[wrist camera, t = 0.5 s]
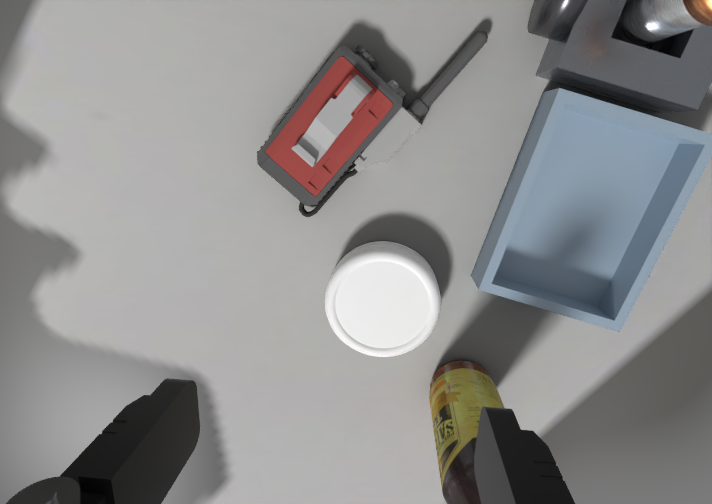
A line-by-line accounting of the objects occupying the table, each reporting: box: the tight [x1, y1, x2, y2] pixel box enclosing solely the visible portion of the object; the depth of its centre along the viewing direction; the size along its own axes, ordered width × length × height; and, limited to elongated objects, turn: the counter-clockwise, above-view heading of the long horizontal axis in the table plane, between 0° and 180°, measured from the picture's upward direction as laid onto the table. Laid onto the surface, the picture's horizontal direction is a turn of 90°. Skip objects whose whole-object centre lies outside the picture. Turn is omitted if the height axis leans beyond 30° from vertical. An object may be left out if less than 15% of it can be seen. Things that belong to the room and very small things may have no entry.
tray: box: [471, 88, 712, 332], centre depth 34 cm, size 16×12×4 cm
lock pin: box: [611, 0, 712, 47], centre depth 26 cm, size 4×4×12 cm
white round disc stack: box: [325, 241, 441, 357], centre depth 38 cm, size 10×10×4 cm
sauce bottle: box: [429, 360, 504, 504], centre depth 32 cm, size 6×6×20 cm
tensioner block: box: [528, 0, 712, 112], centre depth 29 cm, size 10×12×6 cm
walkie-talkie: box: [257, 31, 488, 217], centre depth 33 cm, size 9×4×20 cm
